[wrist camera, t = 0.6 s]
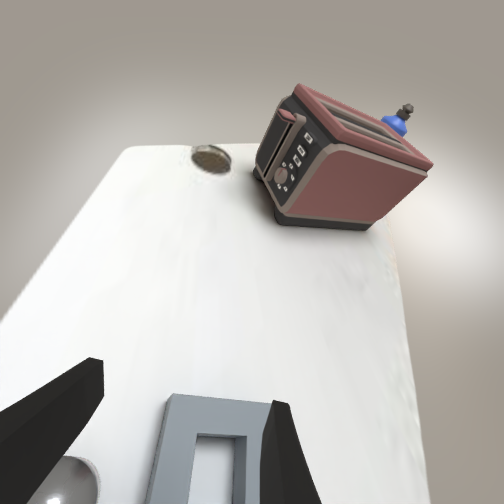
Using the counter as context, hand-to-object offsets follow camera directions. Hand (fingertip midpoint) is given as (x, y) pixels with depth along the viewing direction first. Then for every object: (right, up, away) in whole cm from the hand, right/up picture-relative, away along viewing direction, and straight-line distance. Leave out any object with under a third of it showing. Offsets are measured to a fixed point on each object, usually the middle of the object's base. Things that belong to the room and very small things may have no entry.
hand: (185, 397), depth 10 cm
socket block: (-1, -14, +12) cm, 18 cm away
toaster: (+16, +18, +50) cm, 56 cm away
